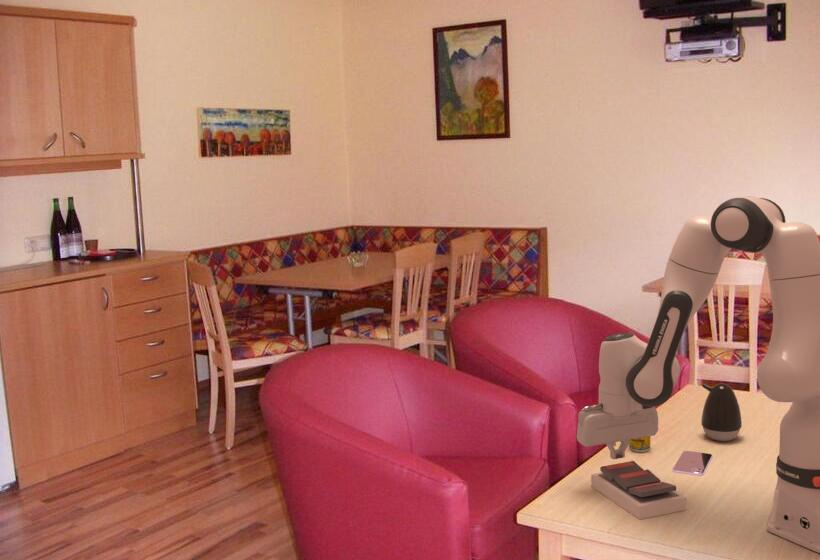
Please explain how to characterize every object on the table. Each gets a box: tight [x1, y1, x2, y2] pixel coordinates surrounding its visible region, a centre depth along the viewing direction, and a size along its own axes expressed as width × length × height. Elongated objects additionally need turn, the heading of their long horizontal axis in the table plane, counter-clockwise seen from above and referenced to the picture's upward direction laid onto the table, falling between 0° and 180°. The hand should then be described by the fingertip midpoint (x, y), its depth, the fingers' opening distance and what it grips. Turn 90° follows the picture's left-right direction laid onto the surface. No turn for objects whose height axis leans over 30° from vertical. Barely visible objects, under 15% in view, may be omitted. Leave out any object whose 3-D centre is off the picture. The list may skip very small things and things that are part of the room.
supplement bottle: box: [628, 436, 651, 453], centre depth 237 cm, size 5×5×10 cm
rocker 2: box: [614, 468, 662, 491], centre depth 207 cm, size 5×9×1 cm, turn 110°
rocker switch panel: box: [590, 471, 687, 520], centre depth 208 cm, size 20×12×3 cm, turn 20°
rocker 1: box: [599, 460, 644, 481], centre depth 213 cm, size 5×9×1 cm, turn 110°
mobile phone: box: [671, 450, 714, 477], centre depth 227 cm, size 8×1×15 cm
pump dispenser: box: [700, 382, 743, 442], centre depth 243 cm, size 10×10×15 cm
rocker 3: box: [629, 481, 677, 497], centre depth 202 cm, size 5×9×1 cm, turn 109°
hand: (617, 457), depth 215 cm, fingers closed
